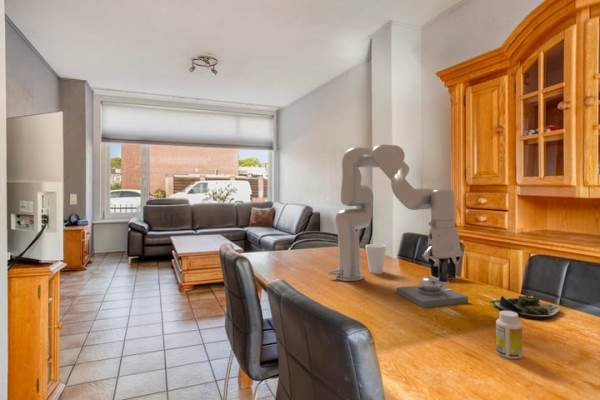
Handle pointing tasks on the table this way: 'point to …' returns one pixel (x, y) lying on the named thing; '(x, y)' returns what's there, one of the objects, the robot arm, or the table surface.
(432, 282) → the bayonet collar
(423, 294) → the post base
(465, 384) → the table surface
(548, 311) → the salad plate
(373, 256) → the foam cup
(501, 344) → the supplement bottle
